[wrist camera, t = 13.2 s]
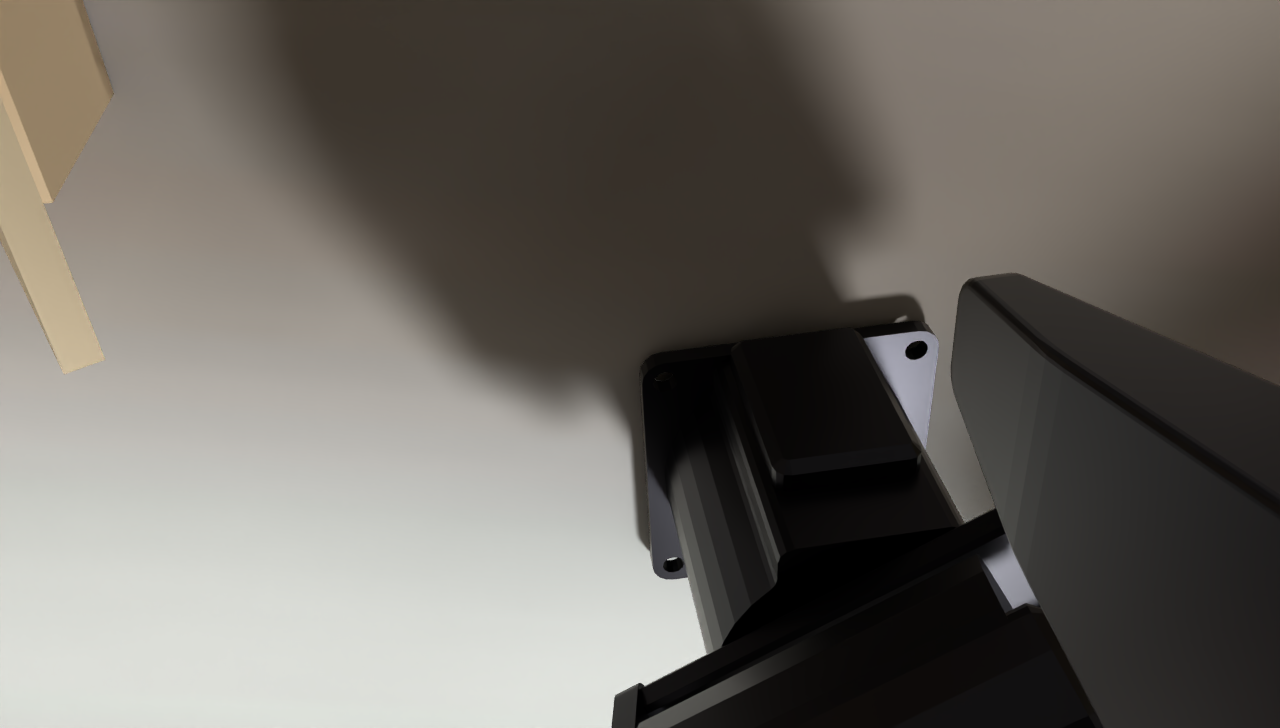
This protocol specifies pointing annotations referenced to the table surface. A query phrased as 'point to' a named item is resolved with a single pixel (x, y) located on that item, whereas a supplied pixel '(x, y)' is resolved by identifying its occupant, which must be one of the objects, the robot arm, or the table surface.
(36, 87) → the carton
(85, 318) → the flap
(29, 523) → the table surface
